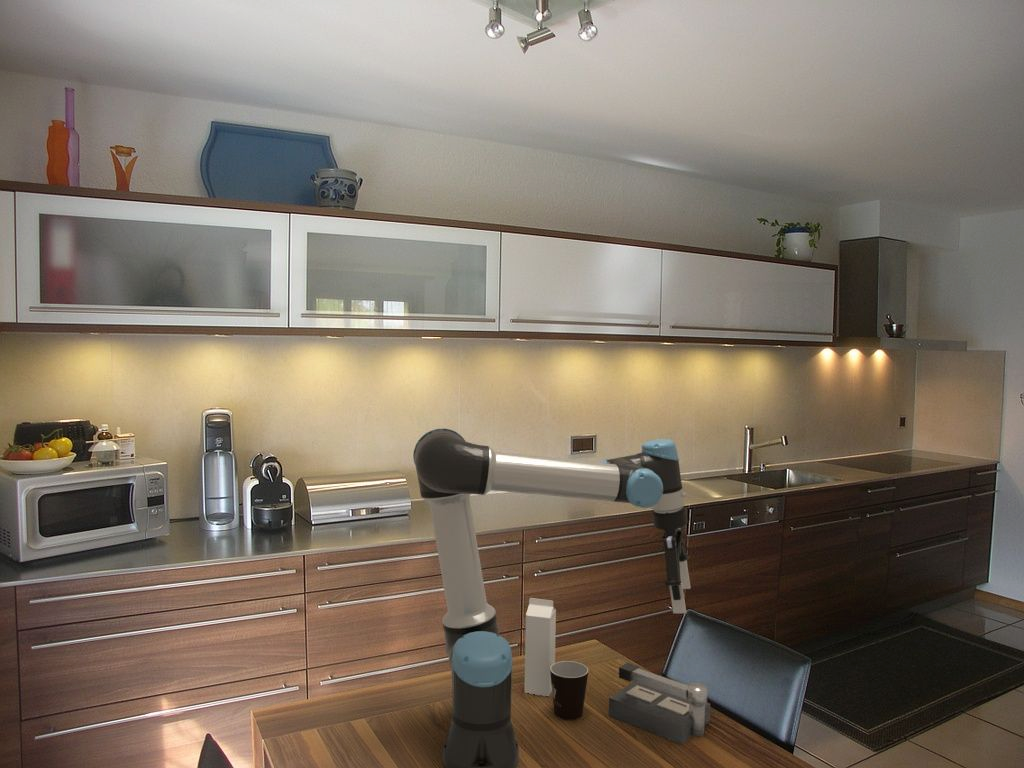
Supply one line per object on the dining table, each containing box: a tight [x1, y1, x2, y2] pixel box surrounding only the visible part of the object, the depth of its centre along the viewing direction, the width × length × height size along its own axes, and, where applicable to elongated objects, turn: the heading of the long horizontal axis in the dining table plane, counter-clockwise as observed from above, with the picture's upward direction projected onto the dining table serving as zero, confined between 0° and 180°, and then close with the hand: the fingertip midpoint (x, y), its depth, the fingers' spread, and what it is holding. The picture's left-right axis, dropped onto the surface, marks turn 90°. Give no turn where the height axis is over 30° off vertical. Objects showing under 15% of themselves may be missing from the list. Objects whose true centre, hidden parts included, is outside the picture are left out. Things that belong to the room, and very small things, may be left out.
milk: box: [524, 597, 557, 698], centre depth 172 cm, size 6×6×22 cm
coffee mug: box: [550, 660, 589, 721], centre depth 162 cm, size 12×9×10 cm
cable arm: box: [618, 662, 708, 705], centre depth 158 cm, size 20×4×3 cm, turn 49°
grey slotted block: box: [608, 681, 711, 745], centre depth 159 cm, size 20×13×6 cm, turn 49°
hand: (682, 600), depth 162 cm, fingers open, 13 cm apart
